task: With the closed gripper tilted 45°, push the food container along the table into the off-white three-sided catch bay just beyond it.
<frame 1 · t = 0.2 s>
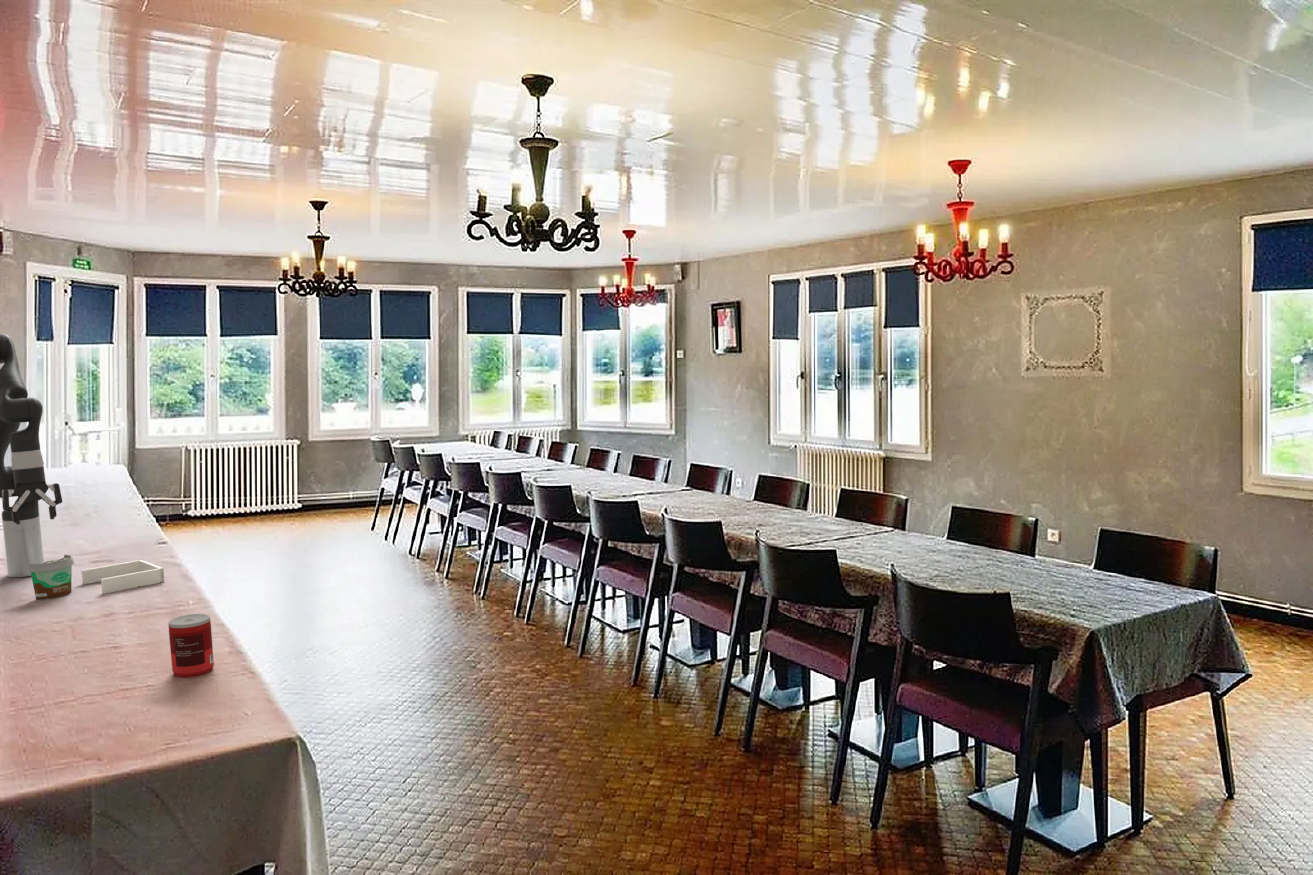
hand: (35, 521, 266), 18 cm above the table, tool pointing down, fingers open, 8 cm apart
canned food: (193, 672, 187), on the table
food container: (60, 595, 251), on the table
catch bay: (122, 583, 263), on the table
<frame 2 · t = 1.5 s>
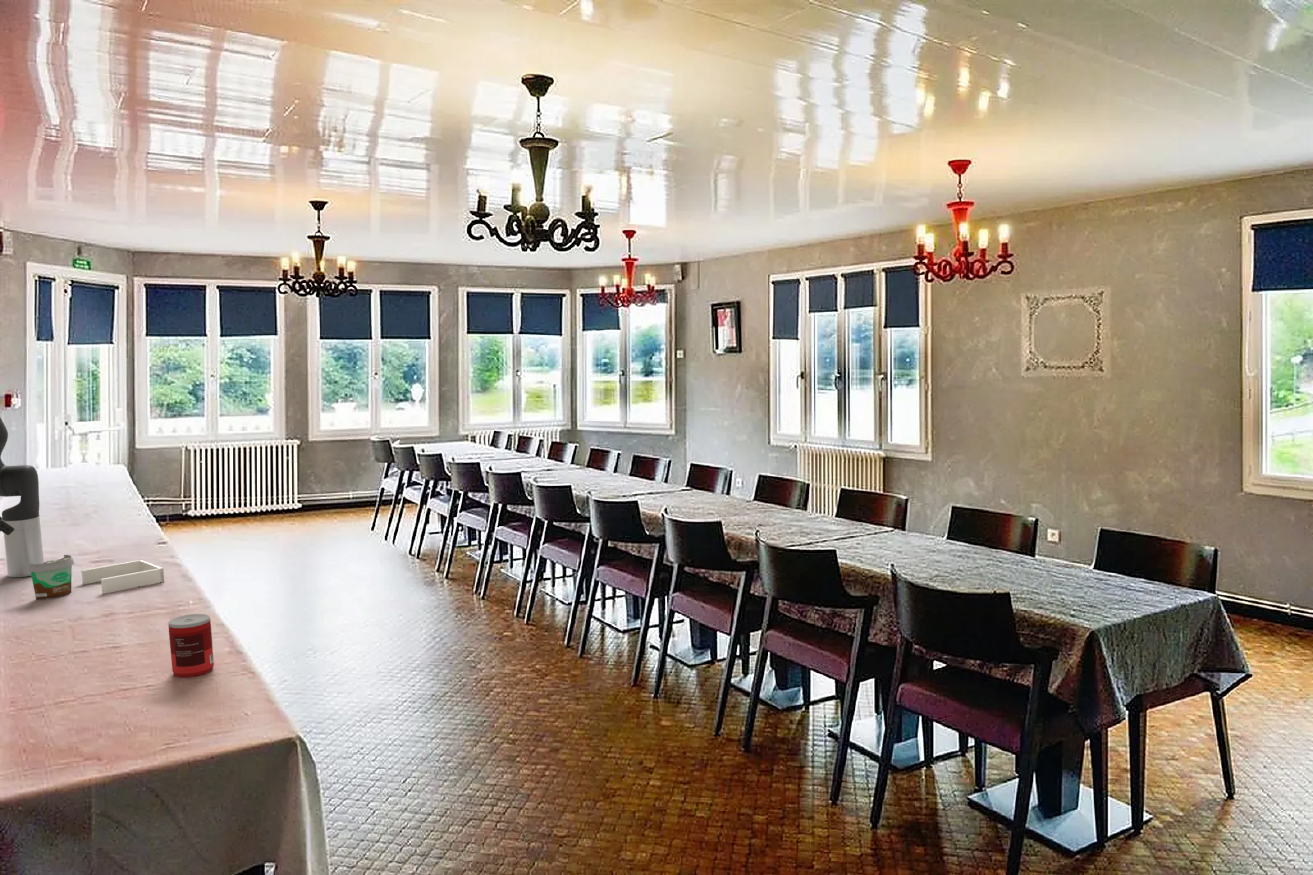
hand: (6, 531, 241), 20 cm above the table, tool tilted 45°, fingers open, 8 cm apart
nothing on the table moved.
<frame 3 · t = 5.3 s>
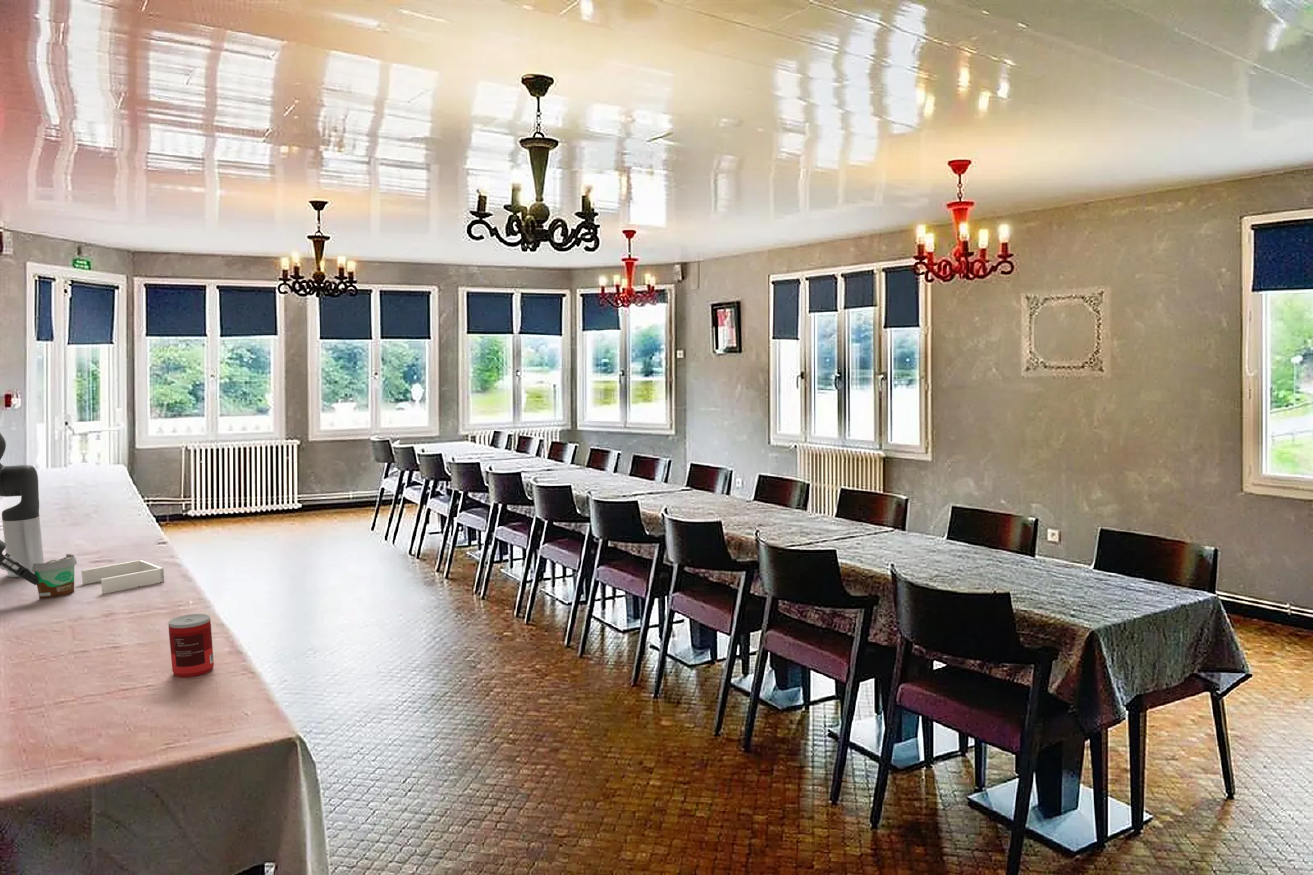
hand: (38, 581, 247), 5 cm above the table, tool tilted 45°, fingers closed
food container: (63, 595, 252), on the table, touching gripper
everything else where it was.
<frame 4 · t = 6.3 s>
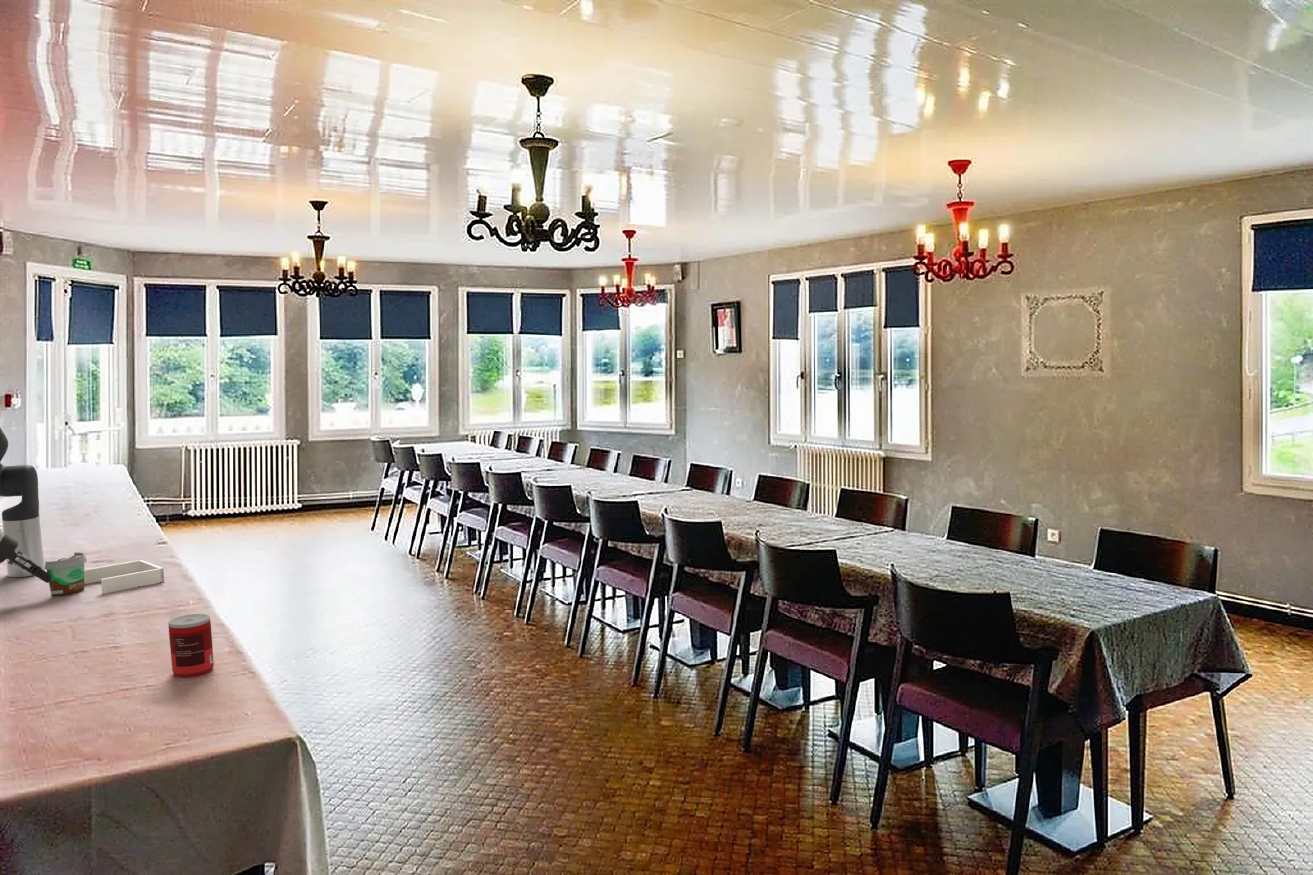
hand: (49, 579, 249), 5 cm above the table, tool tilted 45°, fingers closed
food container: (74, 592, 254), on the table, touching gripper
everything else where it was.
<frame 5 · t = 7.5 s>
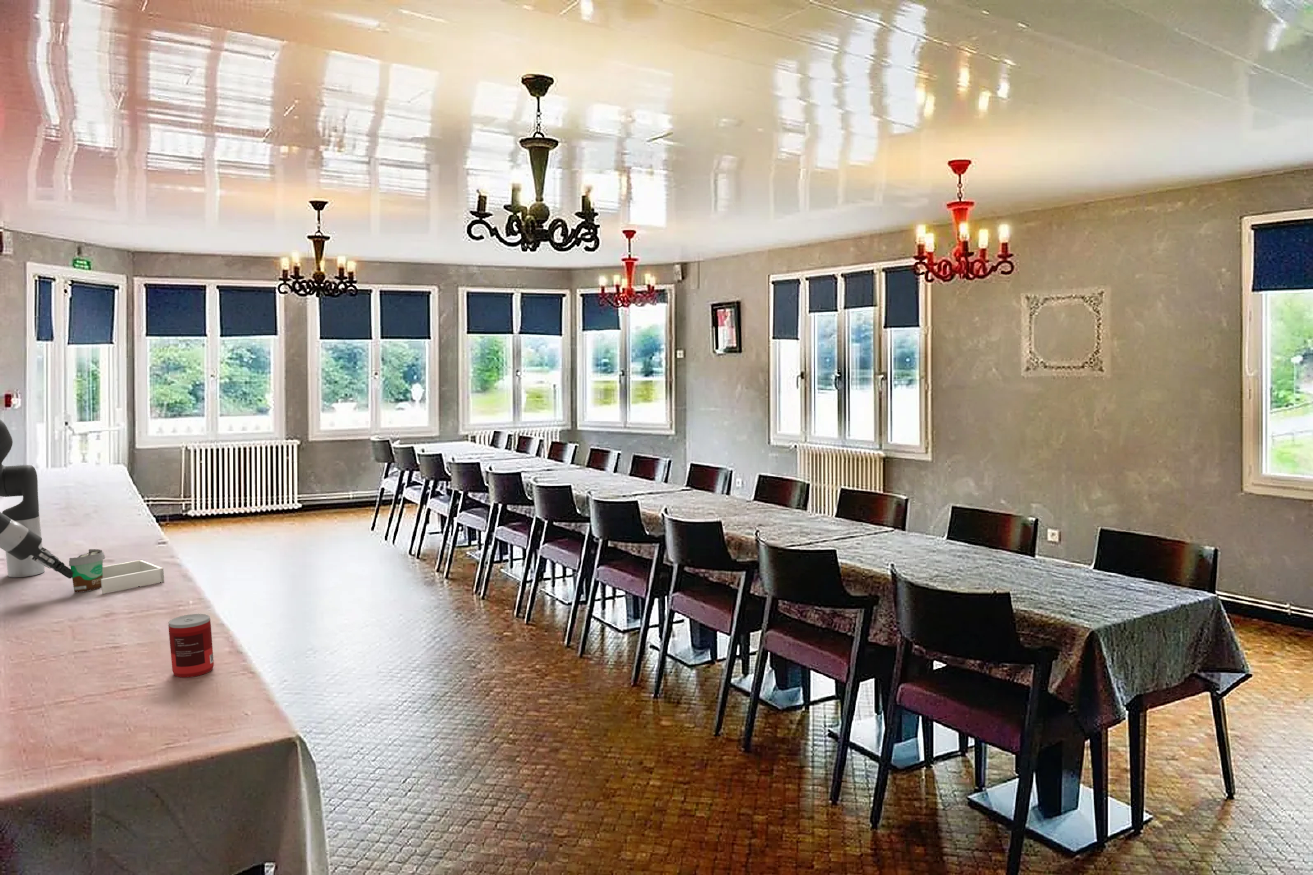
hand: (72, 575, 253), 5 cm above the table, tool tilted 45°, fingers closed
food container: (94, 588, 258), on the table, touching gripper
everything else where it was.
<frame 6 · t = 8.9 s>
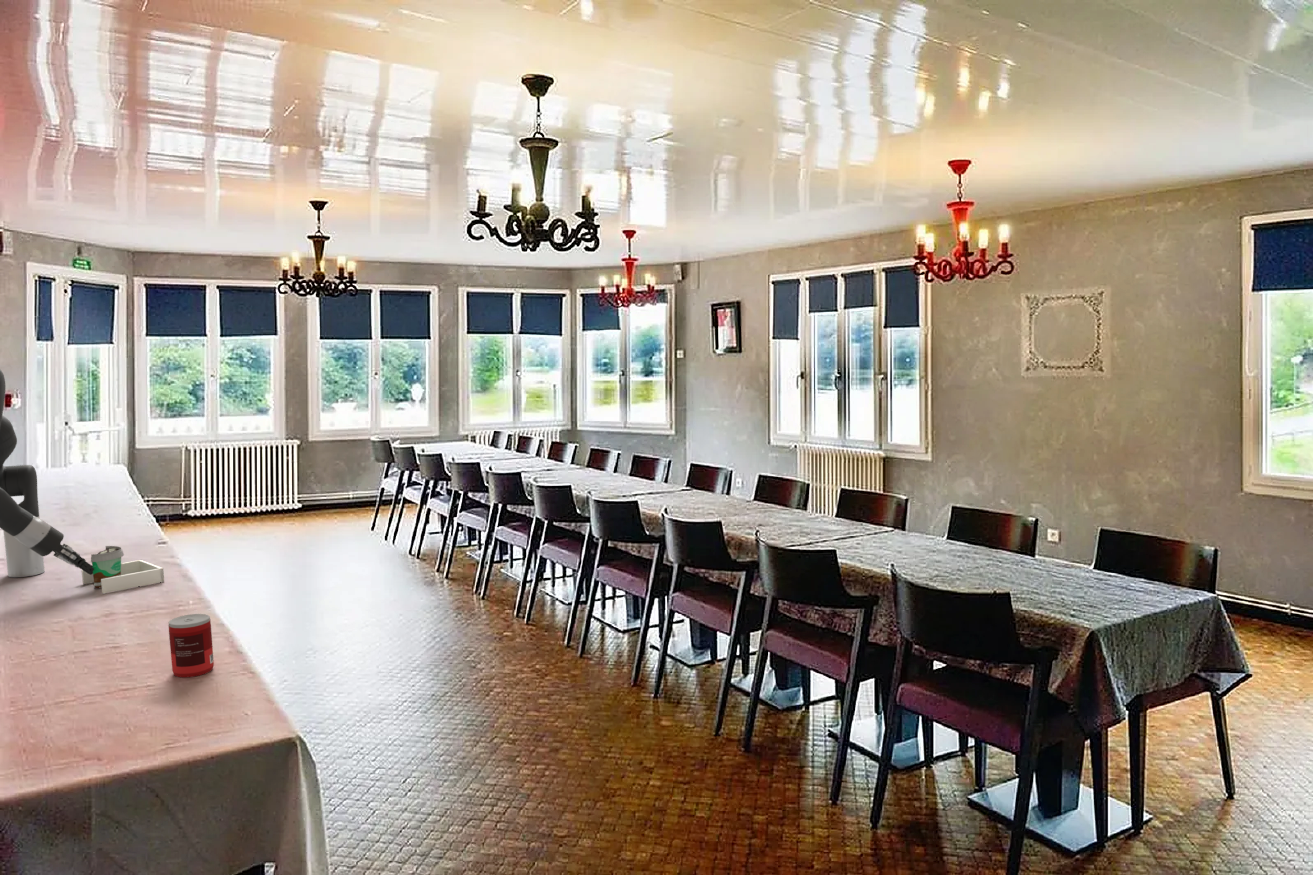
hand: (93, 571, 257), 5 cm above the table, tool tilted 45°, fingers closed
food container: (112, 584, 262), on the table, touching gripper
everything else where it was.
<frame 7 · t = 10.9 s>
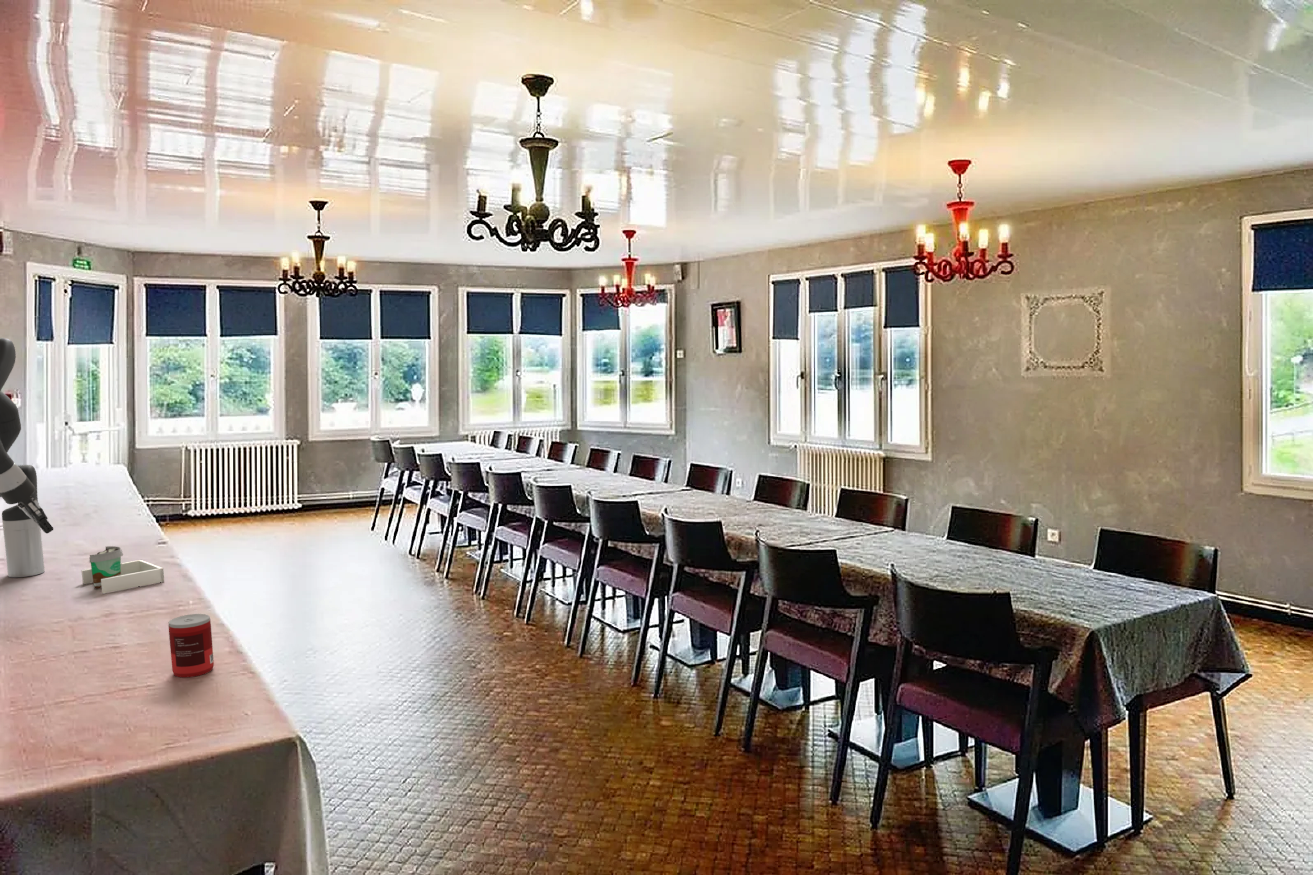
hand: (49, 530, 253), 17 cm above the table, tool tilted 30°, fingers closed
food container: (112, 584, 262), on the table
everything else where it was.
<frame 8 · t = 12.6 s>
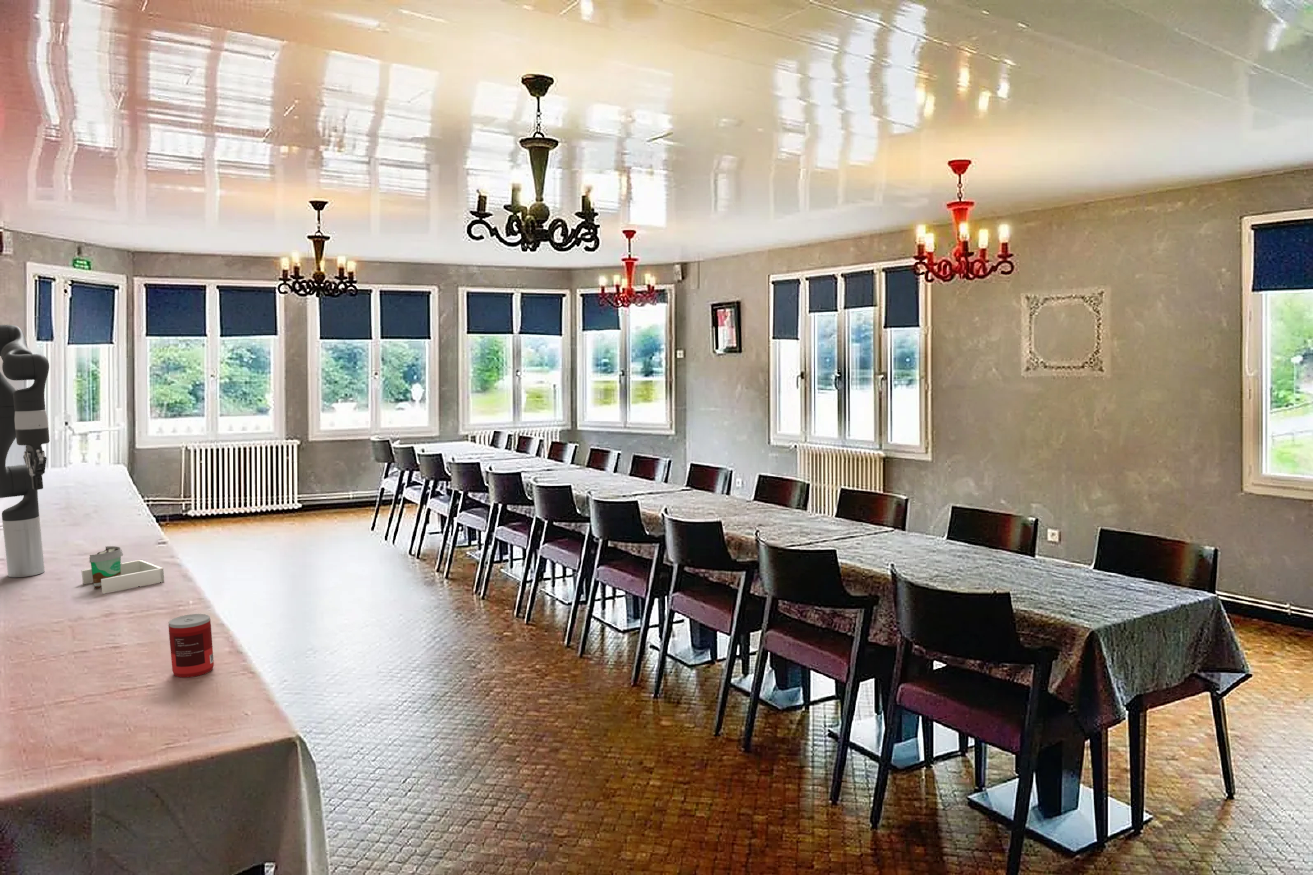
hand: (37, 489, 253), 29 cm above the table, tool pointing down, fingers closed
nothing on the table moved.
at the end: food container inside the target area on the catch bay (2.9 cm from its centre), point 0.0 cm above the catch bay's base; food container tilted 0°; food container moved 13.6 cm from its start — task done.
